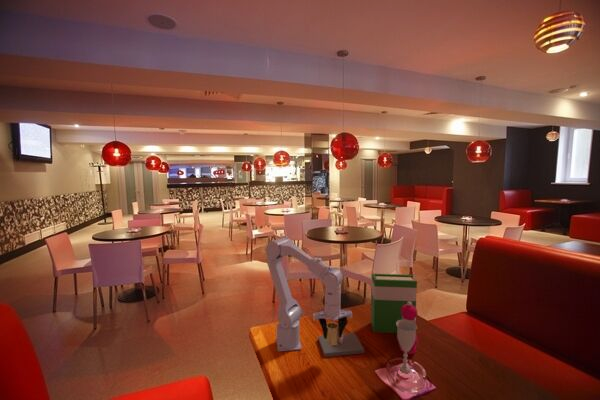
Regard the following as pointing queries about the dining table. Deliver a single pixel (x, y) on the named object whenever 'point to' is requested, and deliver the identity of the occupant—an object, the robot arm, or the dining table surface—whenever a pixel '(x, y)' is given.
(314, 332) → the dining table surface
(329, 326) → the wooden collar
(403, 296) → the hardback book
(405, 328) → the chalice
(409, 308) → the pepper mill
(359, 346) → the pin board
